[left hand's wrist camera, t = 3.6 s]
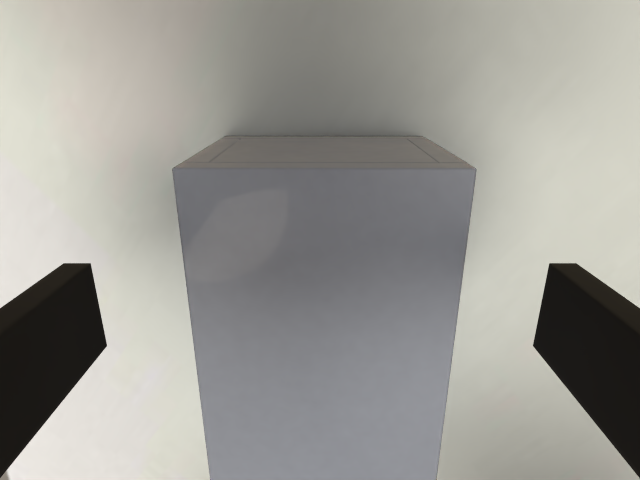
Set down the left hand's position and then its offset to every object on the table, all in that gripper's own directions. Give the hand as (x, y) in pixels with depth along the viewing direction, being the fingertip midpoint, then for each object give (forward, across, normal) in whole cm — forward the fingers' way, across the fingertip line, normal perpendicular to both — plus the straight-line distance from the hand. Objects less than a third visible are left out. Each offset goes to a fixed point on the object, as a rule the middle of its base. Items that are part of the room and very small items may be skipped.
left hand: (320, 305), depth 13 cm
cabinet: (+12, 0, -8) cm, 15 cm away
